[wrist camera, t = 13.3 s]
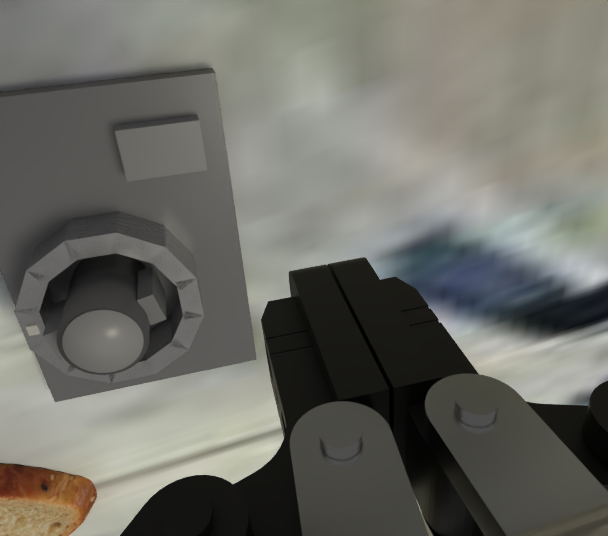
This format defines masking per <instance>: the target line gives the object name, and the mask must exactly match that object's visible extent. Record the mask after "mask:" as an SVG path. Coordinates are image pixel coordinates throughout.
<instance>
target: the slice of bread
mask: <svg viewBox="0 0 608 536" xmlns="http://www.w3.org/2000/svg"><path fill="white" fill-rule="evenodd" d="M96 497H97V491H96V489H95V486H94V484H93V483H92V481H91V480H89V479H87V478H85V477H82V476H79V475H71V474H68V473H64V472H60V471H54V470H49V469H46V468H42V467H30V466H24V465H19V464H0V536H69V535H70V534H71V533H72V532H73V531H75V530H76V529H77V528H78V527H79V526H80V525H81V524H82V523H83V522H84V520H85V518H86V517H87V515H88V513H89V511H90V509H91V508H92V506H93V504H94V502H95V500H96Z"/></svg>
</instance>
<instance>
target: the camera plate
mask: <svg viewBox="0 0 608 536" xmlns="http://www.w3.org/2000/svg"><path fill="white" fill-rule="evenodd" d="M117 211H121V212H124V213H127V214H130V215H134V216H137V217H140V218H143V219H146V220H149V221H153V222H156V223H159V224H162V225H165V226H166V227H167V228H168V229H169V230H170V231H171V232H172V234H173V235H174V236H175V237H176V238H177V239H178V240H179V241H180V242H181V243H182V244H183V245H184V246H185V247H186V248H187V249H188V250H189V251H190V252H191V253H192V254H193V256H194V261H195V266H196V271H197V276H198V281H199V287H200V292H201V298H202V305H203V312H204V317H203V319H202V321H201V324H200V326H199V328H198V330H197V332H196V335H195V337H194V339H193V341H192V344H191V346H190V348H189V350H188V351H187V352H185V353H184V354H182V355H181V356H180V357H178V358H177V359H176V360H174V361H173V362H171V363H170V364H169V365H167V366H166V367H165V368H163V369H162V370H160V371H159V372H158V373H156V374H154V375H149V376H144V377H140V378H135V379H130V380H125V381H120V382H116V383H107V382H102V381H96V380H91V379H85V378H80V377H75V376H69V375H66V374H64V373H63V372H61V371H60V370H59V369H57V368H56V367H54V366H53V365H52V364H50V363H49V362H47V361H46V360H44V359H43V358H42V357H40V356H39V355H37V354H36V353H35V355H36V357H37V360H38V362H39V364H40V367H41V369H42V372H43V374H44V376H45V379H46V381H47V384H48V386H49V389H50V391H51V393H52V396H53V398H54V401H55V402H58V401H62V400H67V399H72V398H77V397H81V396H86V395H91V394H95V393H100V392H105V391H110V390H114V389H119V388H124V387H128V386H133V385H138V384H143V383H147V382H152V381H157V380H162V379H166V378H171V377H176V376H180V375H185V374H190V373H195V372H199V371H204V370H209V369H214V368H218V367H223V366H228V365H232V364H237V363H242V362H247V361H251V360H256V352H255V345H254V339H253V332H252V325H251V318H250V311H249V304H248V297H247V290H246V283H245V276H244V269H243V262H242V255H241V248H240V241H239V234H238V228H237V221H236V214H235V207H234V200H233V193H232V186H231V179H230V172H229V165H228V158H227V151H226V144H225V137H224V130H223V123H222V117H221V110H220V103H219V96H218V89H217V82H216V75H215V72H214V70H213V68H212V69H203V70H194V71H185V72H176V73H167V74H158V75H149V76H141V77H132V78H123V79H114V80H105V81H96V82H87V83H78V84H69V85H60V86H51V87H42V88H33V89H24V90H15V91H7V92H0V270H1V272H2V275H3V277H4V280H5V282H6V285H7V287H8V289H9V292H10V294H11V297H12V299H13V301H14V304H15V306H16V304H17V300H18V297H19V294H20V290H21V287H22V283H23V280H24V276H25V273H26V270H27V267H28V265H29V263H30V260H31V258H32V255H33V253H34V251H35V248H36V246H37V245H38V244H40V243H41V242H42V241H43V240H45V239H46V238H47V237H49V236H50V235H51V234H52V233H54V232H55V231H56V230H58V229H59V228H60V227H61V226H63V225H64V224H65V223H67V222H68V221H69V220H70V219H71V218H78V217H84V216H91V215H97V214H104V213H110V212H117ZM82 260H83V259H79V260H76V261H75V262H74V263H72V264H71V265H70V266H68V267H67V268H66V269H65V270H63V271H62V272H61V273H59V274H58V275H57V276H55V277H54V278H53V279H52V280H50V281H49V284H48V286H49V289H50V291H51V294H52V297H53V299H54V302H55V303H56V302H59V301H62V300H64V299H66V298H67V294H68V290H69V286H70V283H71V279H72V275H73V272H74V270H75V268H76V267H77V265H78V264H79V263H80V262H81V261H82ZM137 260H138V259H137ZM138 261H139V262H141V263H142V265H143V266H144V267H145V269H147V268H150V267H153V268H154V270H155V272H156V274H157V276H158V277H159V279H160V281H161V283H162V285H163V287H164V289H165V300H166V318H167V317H168V316H170V315H171V312H172V310H173V307H174V305H175V303H176V300H177V298H178V296H179V294H178V290H177V286H176V285H175V284H173V283H172V282H171V281H170V280H169V279H168V278H167V277H166V276H165V275H164V274H163V273H162V272H161V271H160V270H159V269H158V268H157V267H156V266H155V265H154V264H152V263H149V262H145V261H142V260H138ZM159 323H160V322H158V323H156V324H153V325H151V324H150V330H151V329H152V328H153V327H155V326H156V325H157V324H159Z"/></svg>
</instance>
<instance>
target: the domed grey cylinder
mask: <svg viewBox="0 0 608 536" xmlns="http://www.w3.org/2000/svg"><path fill="white" fill-rule="evenodd" d="M163 320H166V300H165V289H164V287H163V285H162V283H161V281H160V279H159V277H158V276H157V274H156V272H155V270H154V268H153V267H150V268H147V269H145V267H144V266H143V265H142V263H141V262H139V261H138V260H137V259H134V258H131V257H127V256H124V255H120V254H117V253H115V254H109V255H103V256H97V257H91V258H85V259H83V260H82V261H81V262H80V263H79V264H78V265H77V267H76V268H75V270H74V272H73V275H72V279H71V283H70V286H69V290H68V294H67V298H66V299H64V300H62V301H59V302H56V303H54V304H52V306H51V309H50V313H49V316H48V319H47V323H46V326H45V329H44V333H43V338H44V339H45V340H46V342H47V343H48V345H49V346H50V347H51V349H52V350H53V351H54V353H55V354H56V356H57V357H58V358H59V360H61V359H65V360H66V361H67V362H68V363H69V364H70V365H71V366H73V367H75V368H76V369H78V370H81V371H83V372H86V373H90V374H96V375H109V374H115V373H119V372H122V371H125V370H127V369H129V368H131V367H133V366H134V365H135V364H137V363H138V362H139V361H140V360H141V359H142V358H143V356H144V355H145V353H146V352H147V349H148V346H149V332H150V324H151V325H153V324H156V323H158V322H161V321H163Z"/></svg>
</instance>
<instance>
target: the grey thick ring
mask: <svg viewBox="0 0 608 536" xmlns="http://www.w3.org/2000/svg"><path fill="white" fill-rule="evenodd" d="M115 253H117V254H120V255H124V256H127V257H131V258H134V259H138V260H142V261H145V262H149V263H152V264H154V265H155V266H156V267H157V268H158V269H159V270H160V271H161V272H162V273H163V274H164V275H165V276H166V277H167V278H168V279H169V280H170V281H171V282H172V283H173V284H175V285H176V286H177V290H178V294H179V296H178V298H177V300H176V303H175V305H174V307H173V310H172V312H171V315H170V316H168V317H167V318H166V320H163V321H161V322H160V323H159V324H157V325H156V326H155V327H153V328H152V329H151V330H150V332H149V346H148V349H147V352H146V353H145V355H144V356H143V358H142V359H141V360H140V361H139V362H138V363H137V364H135V365H134V366H133V367H131V368H129V369H127V370H125V371H122V372H119V373H115V374H109V375H96V374H90V373H86V372H83V371H81V370H78V369H76V368H75V367H73V366H71V365H70V364H69V363H68V362H67V361H66V360H65V359H61V360H59V358H58V357H57V356H56V354H55V353H54V351H53V350H52V349H51V347H50V346H49V345H48V343H47V342H46V340H45V339H44V338H43V333H44V329H45V326H46V323H47V319H48V316H49V313H50V309H51V306H52V304H54V303H55V302H54V299H53V297H52V294H51V291H50V289H49V286H48V284H49V281H50V280H52V279H53V278H54V277H55V276H57V275H58V274H59V273H61V272H62V271H63V270H65V269H66V268H67V267H68V266H70V265H71V264H72V263H74V262H75V261H76V260H79V259H85V258H91V257H97V256H103V255H109V254H115ZM14 312H15V314H16V317H17V319H18V321H19V324H20V326H21V329H22V331H23V333H24V336H25V338H26V341H27V343H28V345H29V348H30V350H32V351H33V352H35V353H36V354H37V355H39V356H40V357H42V358H43V359H44V360H46V361H47V362H49V363H50V364H52V365H53V366H54V367H56V368H57V369H59V370H60V371H61V372H63V373H64V374H66V375H69V376H75V377H80V378H85V379H91V380H96V381H102V382H107V383H116V382H120V381H125V380H130V379H135V378H140V377H144V376H149V375H154V374H156V373H158V372H159V371H160V370H162V369H163V368H165V367H166V366H167V365H169V364H170V363H171V362H173V361H174V360H176V359H177V358H178V357H180V356H181V355H182V354H184V353H185V352H187V351H188V350H189V348H190V346H191V344H192V341H193V339H194V337H195V335H196V332H197V330H198V328H199V326H200V324H201V321H202V319H203V317H204V312H203V305H202V298H201V292H200V287H199V281H198V276H197V271H196V266H195V261H194V256H193V254H192V253H191V252H190V251H189V250H188V249H187V248H186V247H185V246H184V245H183V244H182V243H181V242H180V241H179V240H178V239H177V238H176V237H175V236H174V235H173V234H172V232H171V231H170V230H169V229H168V228H167V227H166V226H165V225H162V224H159V223H156V222H153V221H149V220H146V219H143V218H140V217H137V216H134V215H130V214H127V213H124V212H121V211H117V212H110V213H104V214H97V215H91V216H84V217H78V218H71V219H70V220H69V221H68V222H67V223H65V224H64V225H63V226H61V227H60V228H59V229H58V230H56V231H55V232H54V233H52V234H51V235H50V236H49V237H47V238H46V239H45V240H43V241H42V242H41V243H40V244H38V245H37V246H36V248H35V251H34V253H33V255H32V258H31V260H30V263H29V265H28V267H27V270H26V273H25V276H24V280H23V283H22V287H21V290H20V294H19V297H18V300H17V304H16V307H15V310H14Z"/></svg>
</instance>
